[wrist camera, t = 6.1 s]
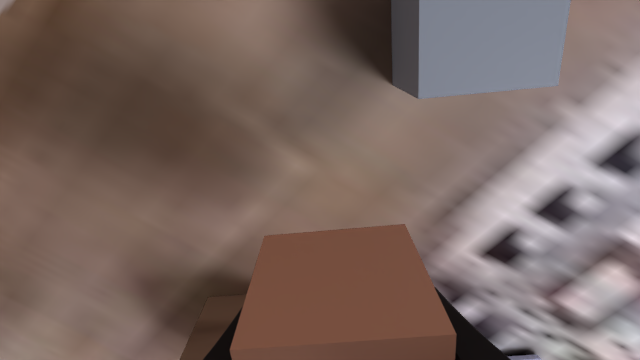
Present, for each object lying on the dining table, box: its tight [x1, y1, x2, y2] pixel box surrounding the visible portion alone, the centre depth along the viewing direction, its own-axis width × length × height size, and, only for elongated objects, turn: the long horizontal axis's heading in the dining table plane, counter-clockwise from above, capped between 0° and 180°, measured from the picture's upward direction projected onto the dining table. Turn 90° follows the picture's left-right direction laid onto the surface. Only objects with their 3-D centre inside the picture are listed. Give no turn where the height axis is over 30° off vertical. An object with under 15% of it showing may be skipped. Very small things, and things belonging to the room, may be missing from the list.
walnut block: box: [180, 294, 247, 360], centre depth 20 cm, size 5×5×5 cm
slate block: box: [391, 0, 571, 99], centre depth 14 cm, size 5×5×5 cm
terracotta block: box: [230, 224, 457, 360], centre depth 11 cm, size 5×5×5 cm
